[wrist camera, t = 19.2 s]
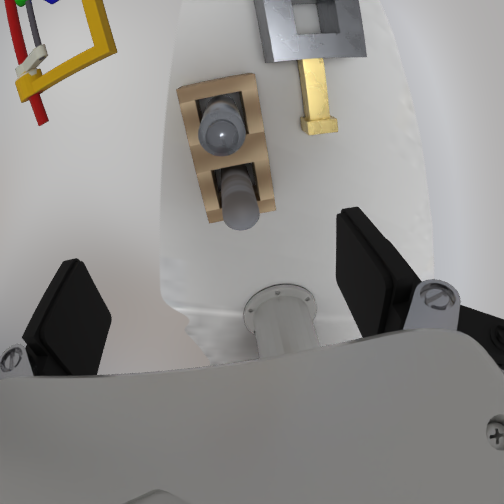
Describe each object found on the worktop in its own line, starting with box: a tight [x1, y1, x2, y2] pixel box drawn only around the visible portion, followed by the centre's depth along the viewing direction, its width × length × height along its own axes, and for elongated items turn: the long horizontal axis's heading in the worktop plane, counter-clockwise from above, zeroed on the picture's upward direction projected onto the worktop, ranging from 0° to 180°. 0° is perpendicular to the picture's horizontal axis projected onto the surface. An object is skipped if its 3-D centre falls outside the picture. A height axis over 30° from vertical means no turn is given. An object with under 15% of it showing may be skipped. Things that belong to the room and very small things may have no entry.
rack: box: [176, 73, 276, 230], centre depth 31 cm, size 16×8×12 cm, turn 9°
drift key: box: [297, 58, 338, 135], centre depth 31 cm, size 12×4×3 cm, turn 9°
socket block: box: [254, 0, 367, 63], centre depth 26 cm, size 10×10×6 cm
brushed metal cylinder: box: [198, 95, 246, 156], centre depth 27 cm, size 4×4×15 cm
